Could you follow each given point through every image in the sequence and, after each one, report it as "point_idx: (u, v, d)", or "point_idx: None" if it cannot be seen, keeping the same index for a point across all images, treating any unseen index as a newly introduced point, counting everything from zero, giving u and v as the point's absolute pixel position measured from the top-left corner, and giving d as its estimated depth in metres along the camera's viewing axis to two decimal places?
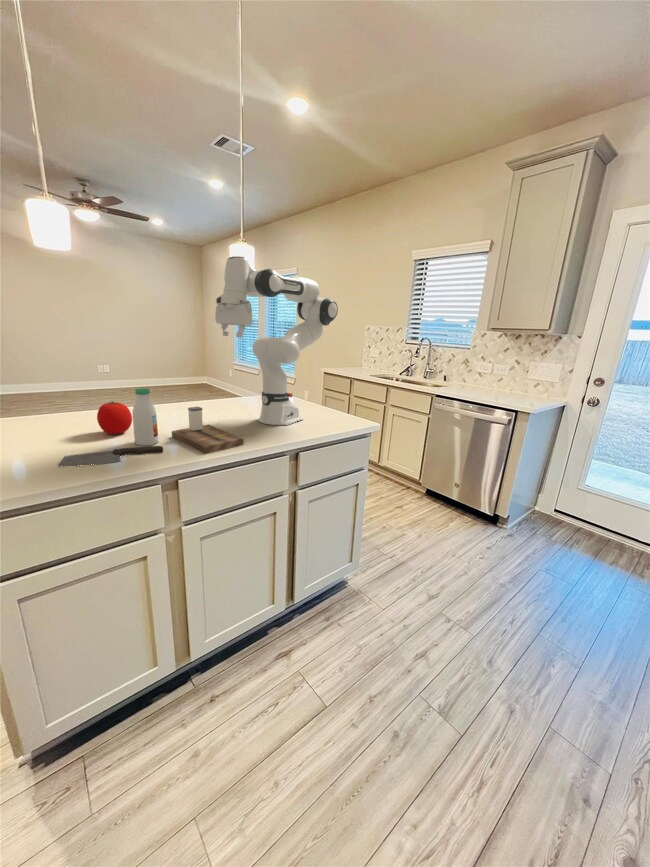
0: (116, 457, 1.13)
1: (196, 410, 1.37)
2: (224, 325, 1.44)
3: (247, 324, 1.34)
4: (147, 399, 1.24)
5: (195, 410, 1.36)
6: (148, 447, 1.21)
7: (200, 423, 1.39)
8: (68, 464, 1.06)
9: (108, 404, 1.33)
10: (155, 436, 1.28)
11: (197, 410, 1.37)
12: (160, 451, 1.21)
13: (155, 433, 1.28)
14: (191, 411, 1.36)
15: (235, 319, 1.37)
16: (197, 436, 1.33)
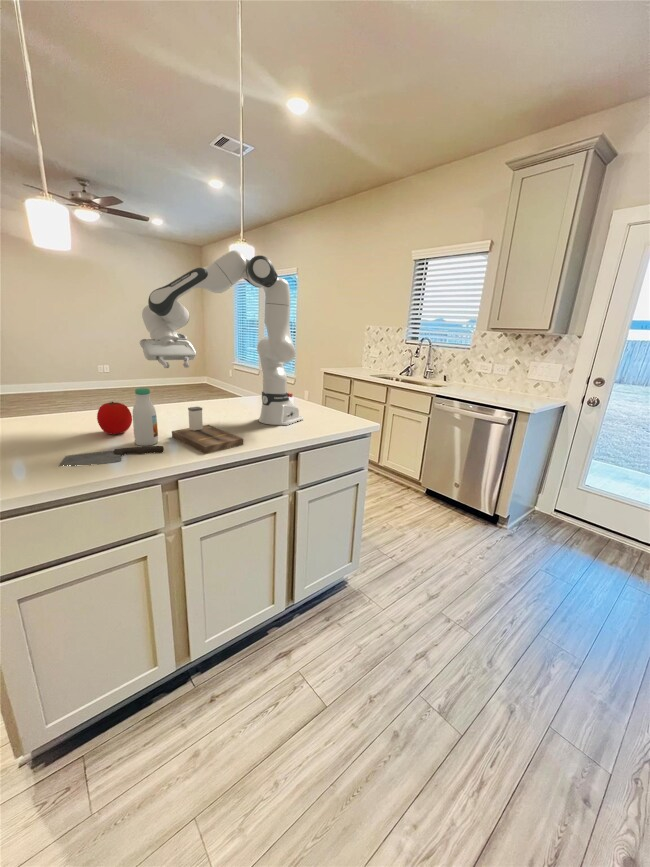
0: (117, 457, 1.13)
1: (196, 410, 1.37)
2: (183, 359, 1.46)
3: (147, 357, 1.35)
4: (147, 399, 1.24)
5: (195, 410, 1.36)
6: (149, 447, 1.21)
7: (200, 423, 1.39)
8: (69, 464, 1.07)
9: (108, 404, 1.33)
10: (155, 436, 1.28)
11: (197, 410, 1.37)
12: (161, 451, 1.21)
13: (155, 433, 1.28)
14: (191, 411, 1.36)
15: None
16: (197, 436, 1.33)
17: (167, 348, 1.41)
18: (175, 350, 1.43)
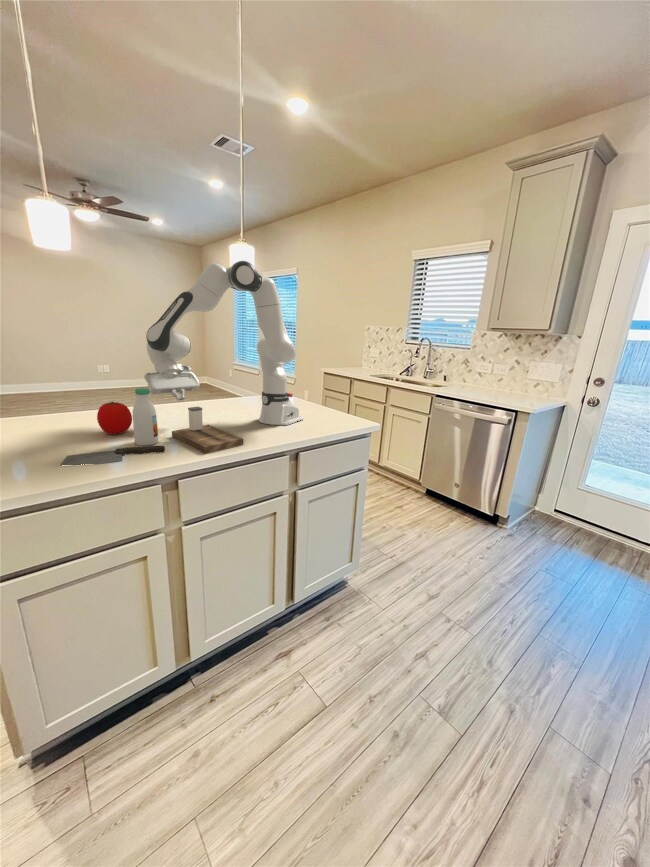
0: (118, 456, 1.14)
1: (196, 410, 1.37)
2: (179, 391, 1.46)
3: (152, 391, 1.38)
4: (147, 399, 1.24)
5: (195, 410, 1.36)
6: (150, 447, 1.21)
7: (200, 423, 1.39)
8: (71, 464, 1.07)
9: (108, 404, 1.33)
10: (155, 436, 1.28)
11: (197, 410, 1.37)
12: (162, 450, 1.21)
13: (155, 433, 1.28)
14: (191, 411, 1.36)
15: None
16: (197, 436, 1.33)
17: (171, 381, 1.43)
18: (179, 382, 1.45)
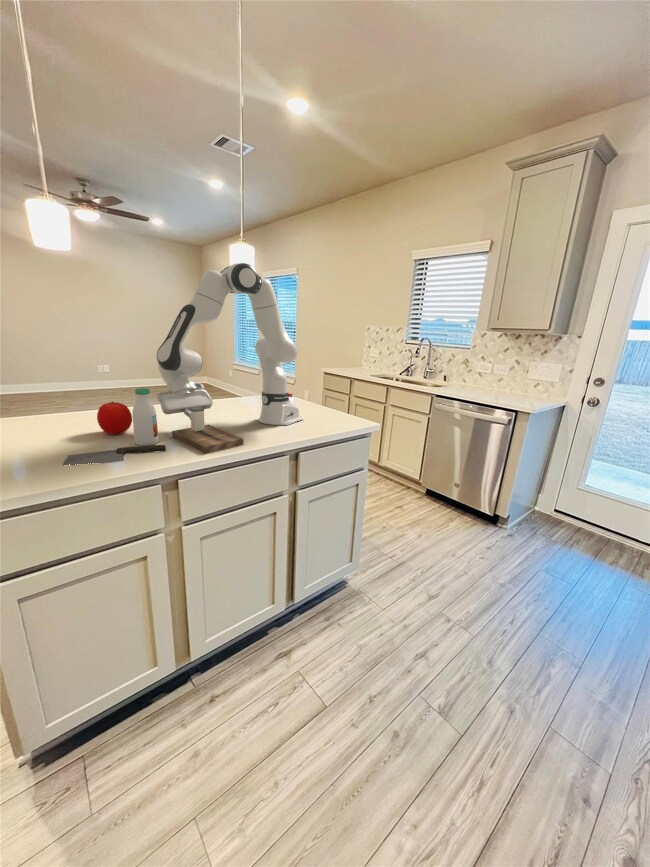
0: (120, 456, 1.14)
1: (198, 411, 1.36)
2: None
3: (165, 412, 1.34)
4: (147, 399, 1.24)
5: (197, 411, 1.36)
6: (151, 446, 1.22)
7: (202, 423, 1.39)
8: (73, 463, 1.07)
9: (108, 404, 1.33)
10: (155, 436, 1.28)
11: (199, 411, 1.36)
12: (163, 450, 1.22)
13: (155, 433, 1.28)
14: (193, 412, 1.35)
15: None
16: (197, 436, 1.33)
17: (184, 400, 1.39)
18: (192, 401, 1.41)
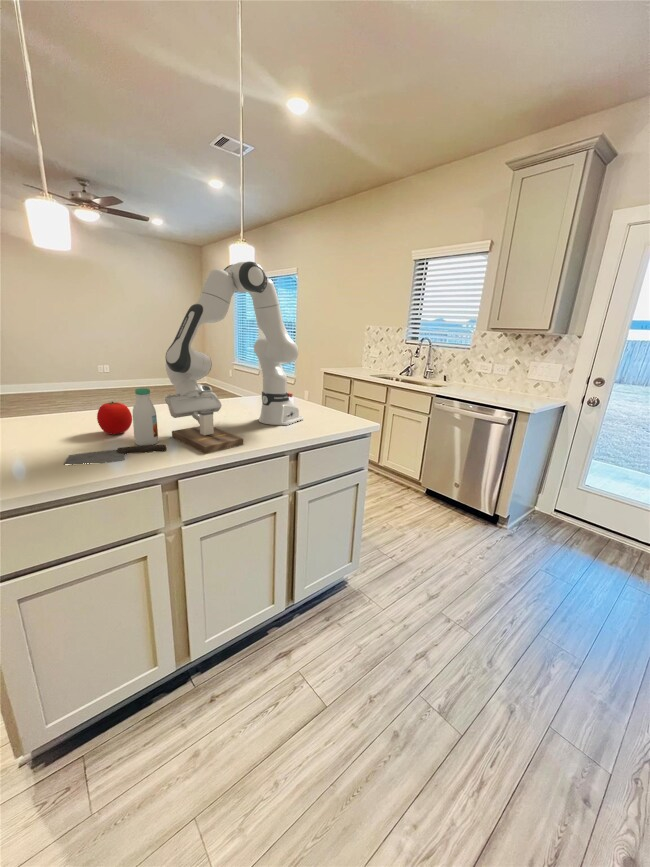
0: (120, 456, 1.15)
1: (207, 414, 1.32)
2: None
3: (173, 415, 1.30)
4: (147, 399, 1.24)
5: (206, 414, 1.32)
6: (151, 446, 1.22)
7: (211, 427, 1.35)
8: (73, 463, 1.08)
9: (108, 404, 1.33)
10: (155, 436, 1.28)
11: (208, 414, 1.32)
12: (163, 450, 1.22)
13: (155, 433, 1.28)
14: (202, 415, 1.31)
15: None
16: (197, 436, 1.33)
17: (193, 403, 1.35)
18: (200, 404, 1.37)
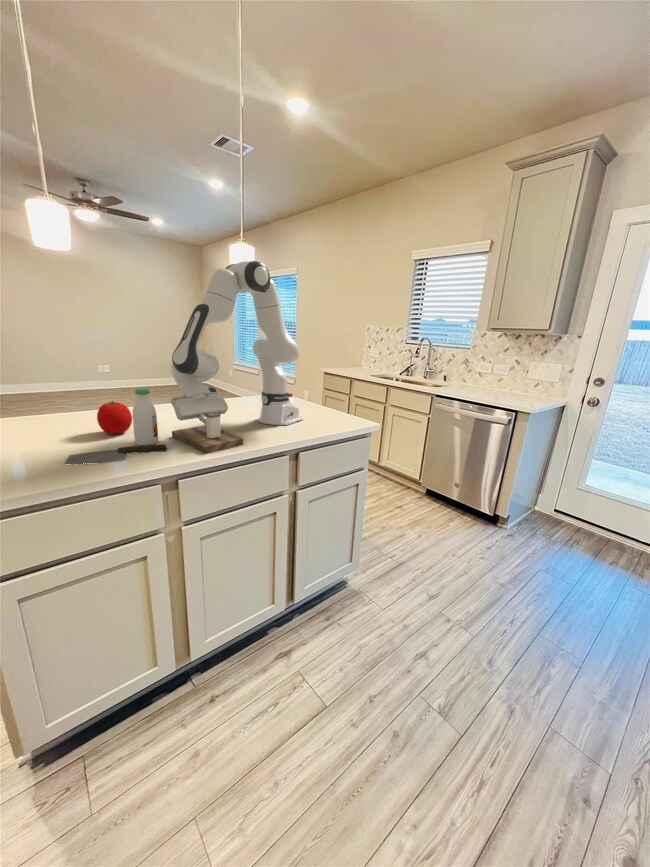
0: (121, 455, 1.15)
1: (214, 417, 1.29)
2: None
3: (180, 418, 1.27)
4: (147, 399, 1.24)
5: (213, 417, 1.29)
6: (152, 445, 1.23)
7: (218, 430, 1.32)
8: (74, 463, 1.08)
9: (108, 404, 1.33)
10: (155, 436, 1.28)
11: (215, 417, 1.29)
12: (164, 449, 1.23)
13: (155, 433, 1.28)
14: (209, 418, 1.28)
15: None
16: (197, 436, 1.33)
17: (199, 405, 1.32)
18: (207, 406, 1.34)
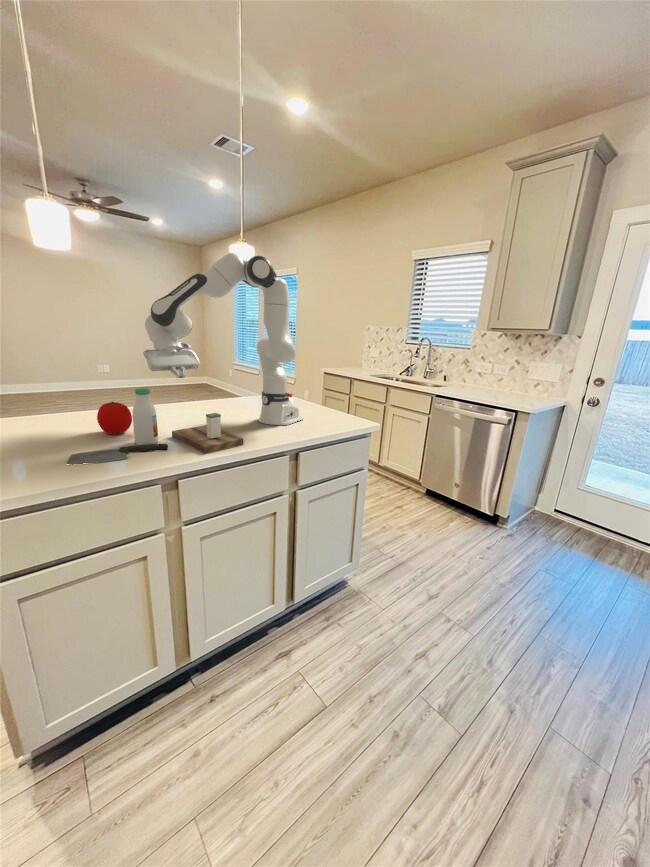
0: (123, 455, 1.15)
1: (214, 417, 1.29)
2: (179, 369, 1.43)
3: (151, 368, 1.35)
4: (147, 399, 1.24)
5: (213, 417, 1.29)
6: (153, 445, 1.23)
7: (218, 430, 1.32)
8: (76, 462, 1.08)
9: (108, 404, 1.33)
10: (155, 436, 1.28)
11: (215, 417, 1.29)
12: (165, 448, 1.23)
13: (155, 433, 1.28)
14: (209, 418, 1.28)
15: None
16: (197, 436, 1.33)
17: (171, 358, 1.40)
18: (179, 360, 1.42)
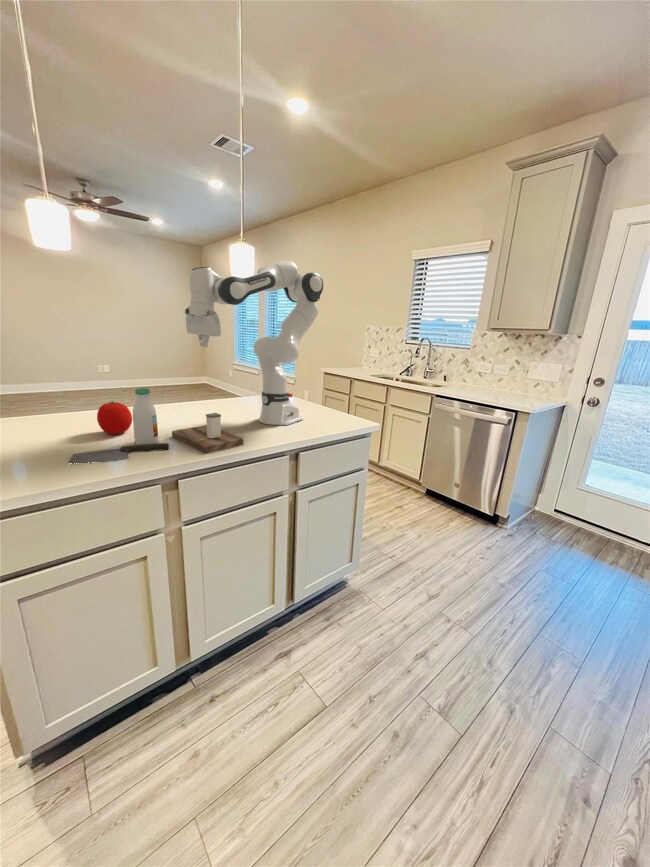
0: (124, 454, 1.16)
1: (214, 417, 1.29)
2: (200, 336, 1.43)
3: (216, 335, 1.37)
4: (147, 399, 1.24)
5: (213, 417, 1.29)
6: (154, 444, 1.24)
7: (218, 430, 1.32)
8: (78, 462, 1.09)
9: (108, 404, 1.33)
10: (155, 436, 1.28)
11: (215, 417, 1.29)
12: (166, 448, 1.24)
13: (155, 433, 1.28)
14: (209, 418, 1.28)
15: (204, 330, 1.39)
16: (197, 436, 1.33)
17: None
18: None
